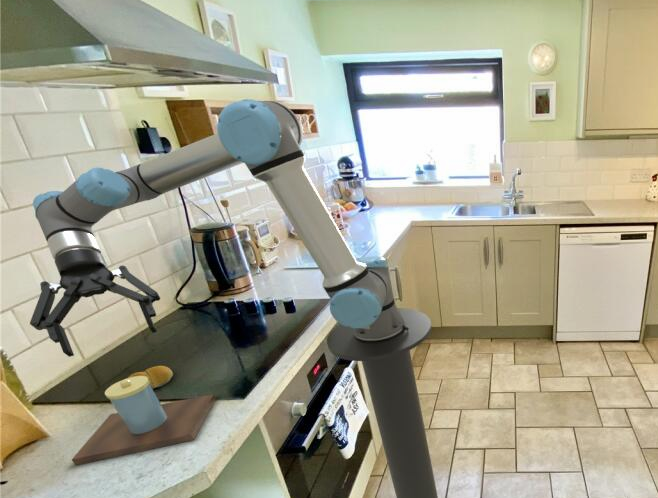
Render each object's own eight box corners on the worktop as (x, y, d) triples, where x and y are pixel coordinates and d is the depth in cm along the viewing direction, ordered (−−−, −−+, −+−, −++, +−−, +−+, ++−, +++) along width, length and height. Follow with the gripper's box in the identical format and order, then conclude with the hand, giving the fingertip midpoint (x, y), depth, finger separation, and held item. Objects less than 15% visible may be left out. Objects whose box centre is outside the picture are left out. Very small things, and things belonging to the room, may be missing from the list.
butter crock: (174, 410, 91) (151, 367, 86) (160, 430, 85) (135, 386, 80) (137, 417, 90) (112, 374, 84) (121, 438, 84) (93, 393, 79)
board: (215, 399, 96) (213, 394, 96) (193, 439, 84) (190, 434, 84) (114, 419, 92) (110, 413, 91) (75, 465, 80) (71, 459, 79)
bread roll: (178, 380, 104) (171, 367, 102) (133, 398, 98) (125, 385, 96) (168, 369, 109) (162, 356, 107) (125, 386, 103) (118, 372, 101)
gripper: (154, 252, 101) (187, 327, 97) (5, 282, 86) (38, 371, 83) (145, 234, 94) (180, 314, 91) (-16, 263, 80) (18, 358, 77)
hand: (112, 341), depth 87 cm, fingers open, 13 cm apart
